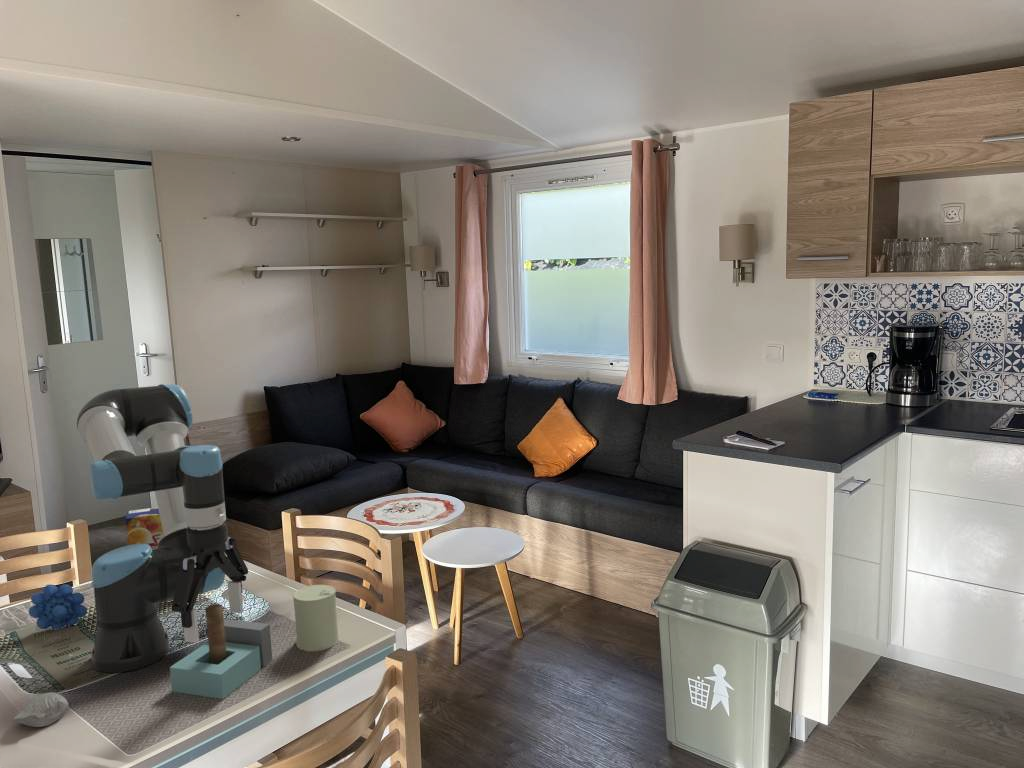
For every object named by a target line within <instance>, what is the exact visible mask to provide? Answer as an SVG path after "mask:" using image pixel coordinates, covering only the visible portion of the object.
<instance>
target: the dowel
mask: <svg viewBox="0 0 1024 768" xmlns="http://www.w3.org/2000/svg"><path fill="white" fill-rule="evenodd" d="M223 608H224V607H223V605H222V604H219V603H216V604H211V605H208V606H206V607H205V608H204V609H205V617H206V618H205V619H206V628H207V630H206V631H207V639H208V641H207V642H208V643H209V654H210V664H216V665H218V664H220V663H221V662H223V661H224V660H225V659H227V652H226V641H225V629H224V619H225V618H224V609H223Z"/></svg>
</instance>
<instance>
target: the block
mask: <svg viewBox="0 0 1024 768" xmlns="http://www.w3.org/2000/svg"><path fill="white" fill-rule="evenodd" d="M226 652H227V659H225V660H224V661H223V662H221V663H220V664H218V665H216V664H210V654H209V643H208V641H207V642H205V643H204V644H202V645H201V646H200V647H197V648H196V649H195V650H193V651H192V652H191V653H189V654H187V655H186V656H184V657H183V658H181V659H180V660H179V661H177V662H175V663H173V664H172V665H171V666H170V667H169V672H170V673H169V675H170V683H171V685H170V686H171V692H172V693H173V692H175V693H181V694H187V695H194V696H199V697H200V696H201V697H207V698H213V699H221V700H223V699H225V698H227V697H228V696H229V695H230V694H232V693H233V692H234V691H235V690H237V689H238V688H239V687H240V686H242V685H243V684H244V683H245V682H247V681H248V680H249V679H251V678H252V677H253V676H255V674H257V673H258V672H259V671H261V670H262V668H261V663H260V651H259V646H253V645H245V644H237V643H229V642H226Z"/></svg>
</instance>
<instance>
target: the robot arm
mask: <svg viewBox="0 0 1024 768" xmlns="http://www.w3.org/2000/svg"><path fill="white" fill-rule="evenodd" d="M191 408H192V406H191V403H190V400H189V398H188V395H187V393H186V392H185V390H184V389H183V388H182V387H181V386H180V385H178V384H164V383H163V384H162V383H161V384H158V385H153V386H141V387H138V386H137V387H130V388H117V389H111V390H106V391H104V392H102V393H99V394H97V395H96V396H94V397H93V398H91V399H90V400H89V401H88V402H86V403H85V404H84V405H83V407H82V408H81V409H80V411H79V412H78V415H77V418H76V429H77V431H78V435H79V437H80V438H81V439H82V440H83V441H84V442H85V443H87V445H88V447H89V449H90V451H91V455H92V457H93V460H94V462H92V463H91V464H90V466H89V470H88V472H89V474H88V475H89V482H90V488H91V493H92V496H93V498H95V499H96V500H107V499H109V500H110V499H113V500H115V499H116V500H117V499H119V498H122V497H129V496H134V495H139V494H140V495H141V494H146V493H150V492H151V493H153V492H154V495H155V499H156V504H157V505H156V506H157V507H158V510H159V515H160V520H161V524H162V529H163V534H164V535H163V536H162V537H161V539H160V540H159V542H158V547H159V549H154V550H152V548H151V547H150V545H148V544H137V545H136V544H132V545H128V544H127V545H125V546H120V547H118V548H115V549H112V550H110V551H108V552H106V553H104V554H102V555H101V556H99V557H98V558H97V559H96V560H95V562H94V563H93V565H92V567H91V574H92V581H91V586H92V588H93V595H94V604H95V614H96V615H95V616H96V622H97V631H96V634H95V638H94V644H93V645H94V646H93V648H92V651H91V665H92V668H93V669H94V670H96V671H98V672H102V673H108V674H109V673H123V672H130V671H134V670H137V669H141V668H143V667H144V668H145V667H147V666H150V665H151V664H154V663H156V662H158V661H159V660H161V659H163V658H164V657H165V656H167V654H168V653H169V651H170V639H169V635H168V633H167V632H166V631H165V628H164V625H163V623H162V622H161V619H160V618H159V616H158V615H159V614H158V608H157V606H158V605H160V604H159V603H162V604H164V603H163V602H167V601H171V600H173V602H171V606H170V607H171V608H170V610H171V612H175V613H180V619H181V621H180V622H181V627H182V628H183V634H184V635H183V636H184V642H187V643H194V644H196V643H199V642H200V636H199V624H198V616H197V615H198V614H197V608H194V607H195V604H196V602H197V598H198V597H199V595H204V594H205V593H207V592H208V593H209V592H211V591H215V590H218V589H220V588H221V587H222V585H223V584H224V582H225V579H226V577H228V578H229V581H227V592H228V604H229V605H228V607H229V612H230V613H237V614H242V613H244V609H243V607H244V606H243V582H245V581H247V575H248V573H249V568H248V567H247V564H246V563H245V561H244V559H243V557H242V555H241V552H240V550H239V548H238V546H237V540H236V538H235V537H233V536H231V537H230V536H228V535H229V533H228V524H227V522H226V520H227V515H226V513H227V512H226V504H225V503H226V501H225V499H226V498H225V487H224V476H223V475H224V474H223V466H224V463H223V460H222V455H221V449H220V448H219V447H218V446H216V445H211V444H200V445H192V446H191V445H185V441H184V439H185V438H186V437H187V436H188V434H189V429H191V428H192V427H193V426H192V425H193V413H192V410H191ZM129 437H135V439H136V443H137V444H138V445H139V446H142V447H144V448H145V452H146V454H143V455H137V454H136V452H135V450H134V447H133V445H132V444H131V442H130V440H129Z"/></svg>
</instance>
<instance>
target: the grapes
mask: <svg viewBox="0 0 1024 768" xmlns="http://www.w3.org/2000/svg"><path fill="white" fill-rule="evenodd" d="M30 601H31V603H32V604H33V605H32V606H30V607H29V608H28V615H29V616H30V617H31V618H33V619H37V620H36V625H37V627H38V628H39V629H42V630H47V629H49V628H52V629H61V628H62V627H64V626H65V625H74V624H76V623H77V622H78V621H79V620H80V618H83V617H85V616H86V615H87V613H88V609H87V607H86V606H85V605H83V603H84V602H85V596H84V594H83V593H81V592H74V589H73V587H72V586H71V585H69V584H62V585H60V586H59V587H57V586H56V585H55V584H46V585H45V586H44V587H43V588H42V592H35V593H33V594H32V595H31V597H30ZM52 629H51V630H52ZM61 630H62V629H61Z"/></svg>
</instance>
